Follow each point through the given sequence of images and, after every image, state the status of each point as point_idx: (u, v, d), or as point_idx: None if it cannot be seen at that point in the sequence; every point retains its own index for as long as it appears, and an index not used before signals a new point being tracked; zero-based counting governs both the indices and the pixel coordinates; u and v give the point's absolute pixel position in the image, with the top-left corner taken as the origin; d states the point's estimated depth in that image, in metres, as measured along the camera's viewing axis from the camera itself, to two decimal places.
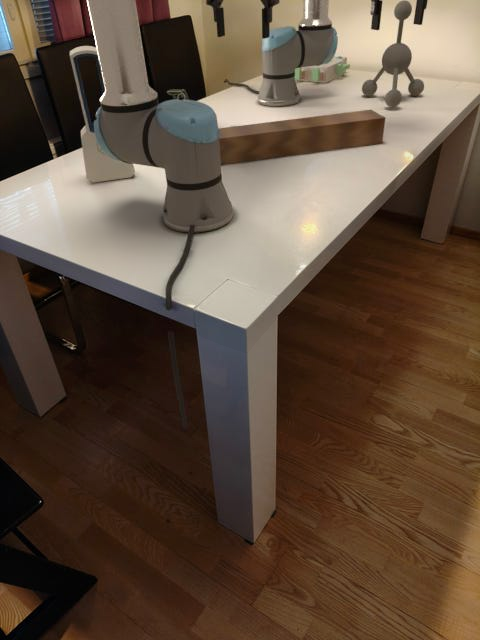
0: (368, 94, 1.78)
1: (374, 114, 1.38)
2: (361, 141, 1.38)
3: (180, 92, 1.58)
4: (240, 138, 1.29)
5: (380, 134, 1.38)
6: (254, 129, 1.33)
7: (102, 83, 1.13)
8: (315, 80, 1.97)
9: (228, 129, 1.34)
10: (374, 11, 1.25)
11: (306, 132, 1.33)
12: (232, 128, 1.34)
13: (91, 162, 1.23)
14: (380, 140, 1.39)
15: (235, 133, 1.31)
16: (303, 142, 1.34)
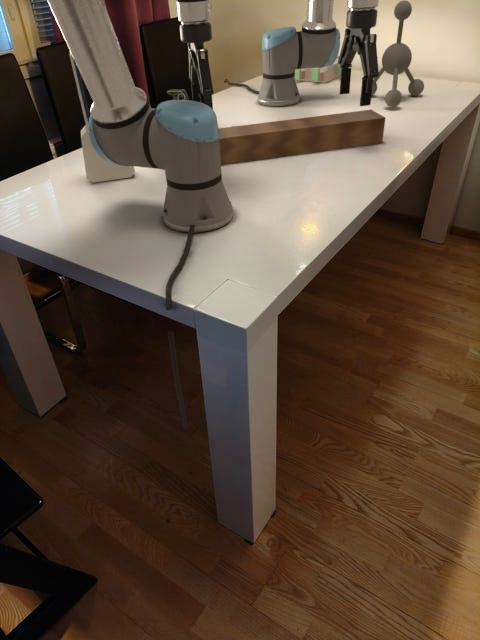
0: None
1: (374, 114, 1.38)
2: (361, 141, 1.38)
3: (180, 92, 1.58)
4: (240, 138, 1.29)
5: (380, 134, 1.38)
6: (254, 129, 1.33)
7: None
8: (315, 80, 1.97)
9: (228, 129, 1.34)
10: None
11: (306, 132, 1.33)
12: (232, 128, 1.34)
13: (91, 162, 1.23)
14: (380, 140, 1.39)
15: (235, 133, 1.31)
16: (303, 142, 1.34)
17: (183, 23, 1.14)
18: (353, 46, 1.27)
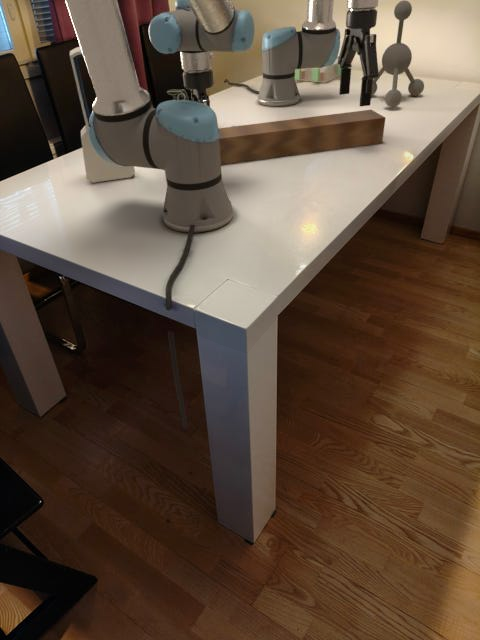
0: None
1: (374, 114, 1.38)
2: (361, 141, 1.38)
3: (180, 92, 1.58)
4: (240, 138, 1.29)
5: (380, 134, 1.38)
6: (254, 129, 1.33)
7: None
8: (315, 80, 1.97)
9: (228, 129, 1.34)
10: None
11: (306, 132, 1.33)
12: (232, 128, 1.34)
13: (91, 162, 1.23)
14: (380, 140, 1.39)
15: (235, 133, 1.31)
16: (303, 142, 1.34)
17: (186, 71, 1.20)
18: (353, 46, 1.27)
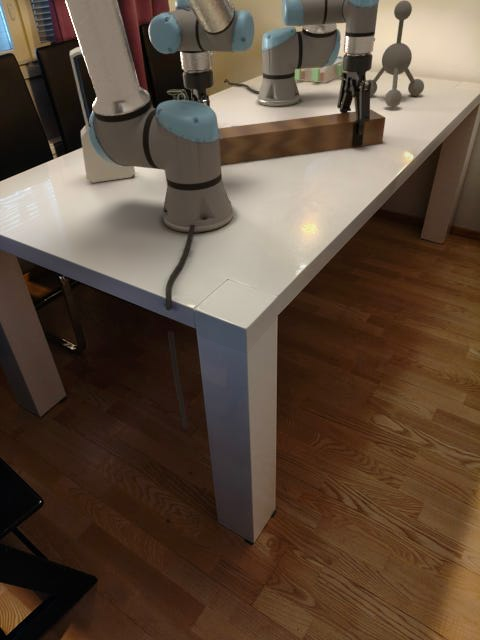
0: None
1: (374, 114, 1.38)
2: None
3: (180, 92, 1.58)
4: (240, 138, 1.29)
5: (380, 134, 1.38)
6: (254, 129, 1.33)
7: None
8: (315, 80, 1.97)
9: (228, 129, 1.34)
10: None
11: (306, 132, 1.32)
12: (232, 128, 1.34)
13: (91, 162, 1.23)
14: (380, 140, 1.39)
15: (235, 133, 1.31)
16: (303, 142, 1.34)
17: (186, 71, 1.20)
18: (349, 87, 1.34)
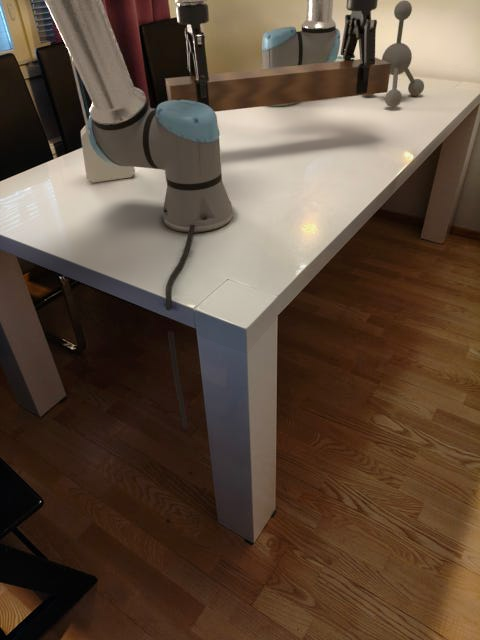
0: (368, 94, 1.78)
1: (379, 61, 1.31)
2: None
3: None
4: (237, 82, 1.22)
5: (385, 82, 1.31)
6: (253, 73, 1.25)
7: None
8: None
9: (224, 74, 1.26)
10: None
11: (308, 77, 1.25)
12: (229, 73, 1.27)
13: (91, 162, 1.23)
14: (385, 89, 1.32)
15: (232, 77, 1.23)
16: (304, 88, 1.26)
17: (179, 4, 1.12)
18: (353, 29, 1.26)
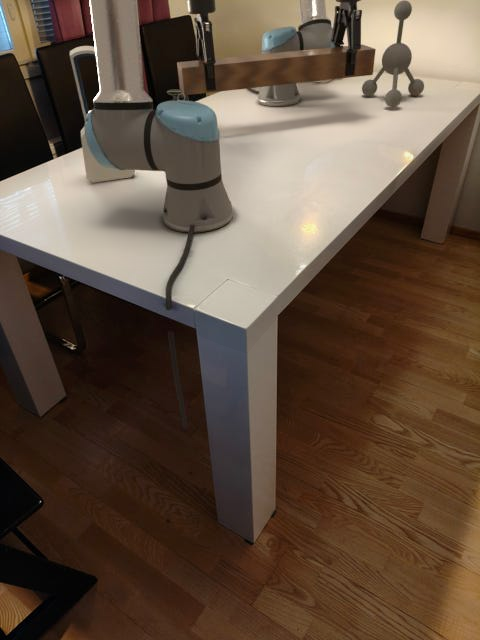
0: (368, 94, 1.78)
1: (365, 47, 1.48)
2: None
3: (180, 92, 1.58)
4: (240, 65, 1.39)
5: (371, 66, 1.48)
6: (254, 58, 1.43)
7: None
8: None
9: (228, 58, 1.43)
10: None
11: (302, 61, 1.42)
12: (233, 58, 1.44)
13: (91, 162, 1.23)
14: (371, 72, 1.49)
15: (235, 61, 1.40)
16: (298, 71, 1.44)
17: None
18: (342, 19, 1.43)
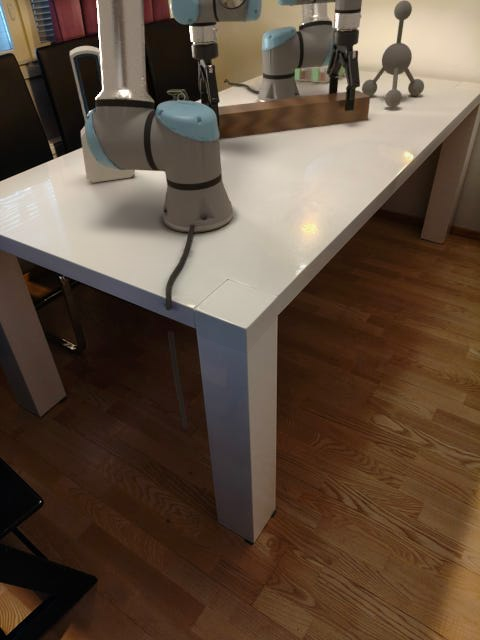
0: (368, 94, 1.78)
1: (360, 94, 1.56)
2: (349, 118, 1.56)
3: (180, 92, 1.58)
4: (242, 114, 1.47)
5: (366, 112, 1.56)
6: (255, 106, 1.51)
7: None
8: (315, 80, 1.97)
9: (231, 107, 1.52)
10: None
11: (300, 109, 1.51)
12: (235, 106, 1.52)
13: (91, 162, 1.23)
14: (366, 117, 1.57)
15: (237, 110, 1.49)
16: (297, 118, 1.52)
17: (194, 43, 1.36)
18: (339, 60, 1.50)
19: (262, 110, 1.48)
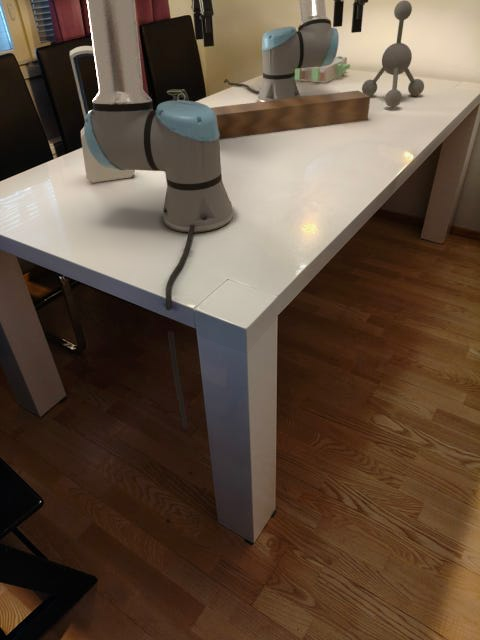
0: (368, 94, 1.78)
1: (360, 94, 1.56)
2: (349, 118, 1.56)
3: (180, 92, 1.58)
4: (242, 114, 1.47)
5: (366, 112, 1.56)
6: (255, 106, 1.51)
7: None
8: (315, 80, 1.97)
9: (231, 107, 1.52)
10: None
11: (300, 109, 1.51)
12: (235, 106, 1.52)
13: (91, 162, 1.23)
14: (366, 117, 1.57)
15: (237, 110, 1.49)
16: (297, 118, 1.52)
17: None
18: None
19: (262, 110, 1.48)
